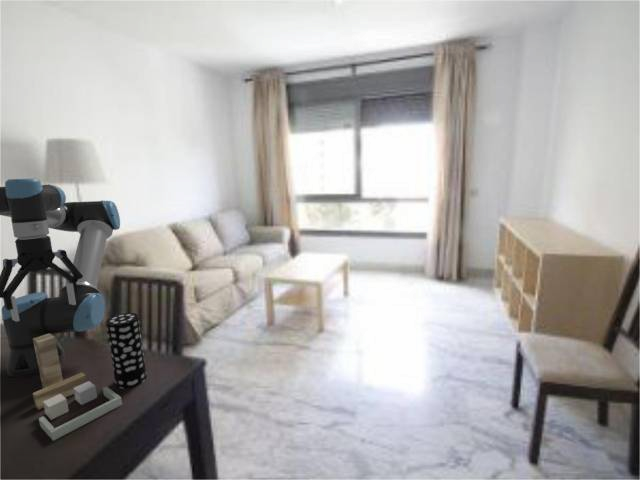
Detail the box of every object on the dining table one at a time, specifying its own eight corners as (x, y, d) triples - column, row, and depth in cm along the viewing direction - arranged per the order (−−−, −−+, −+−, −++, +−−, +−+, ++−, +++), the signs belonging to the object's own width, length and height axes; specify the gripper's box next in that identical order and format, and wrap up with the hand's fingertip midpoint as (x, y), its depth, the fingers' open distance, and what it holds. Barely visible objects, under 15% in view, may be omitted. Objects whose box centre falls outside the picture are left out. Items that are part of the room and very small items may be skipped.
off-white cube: (45, 415, 96) (42, 401, 95) (63, 406, 99) (60, 393, 98) (51, 421, 94) (48, 407, 93) (69, 412, 97) (66, 399, 96)
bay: (40, 427, 92) (38, 418, 91) (107, 394, 104) (106, 386, 104) (53, 441, 87) (51, 432, 86) (122, 405, 99) (121, 397, 99)
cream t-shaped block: (26, 396, 103) (14, 344, 100) (74, 376, 113) (65, 328, 109) (38, 409, 98) (27, 355, 94) (87, 387, 107) (79, 336, 104)
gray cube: (75, 400, 102) (73, 387, 101) (91, 393, 105) (89, 380, 104) (81, 406, 99) (79, 393, 98) (97, 398, 102) (95, 385, 102)
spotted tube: (134, 390, 105) (124, 325, 101) (109, 387, 107) (98, 323, 103) (152, 374, 113) (144, 313, 109) (129, 371, 115) (120, 312, 111)
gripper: (-24, 246, 87) (-7, 331, 91) (88, 230, 107) (99, 300, 111) (-34, 244, 91) (-17, 325, 95) (76, 229, 111) (87, 296, 115)
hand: (45, 311), depth 103 cm, fingers open, 13 cm apart
